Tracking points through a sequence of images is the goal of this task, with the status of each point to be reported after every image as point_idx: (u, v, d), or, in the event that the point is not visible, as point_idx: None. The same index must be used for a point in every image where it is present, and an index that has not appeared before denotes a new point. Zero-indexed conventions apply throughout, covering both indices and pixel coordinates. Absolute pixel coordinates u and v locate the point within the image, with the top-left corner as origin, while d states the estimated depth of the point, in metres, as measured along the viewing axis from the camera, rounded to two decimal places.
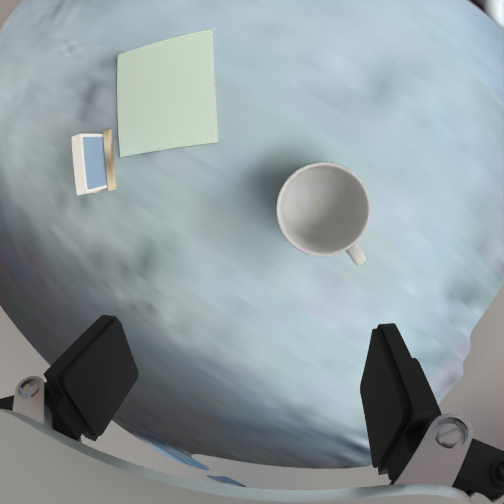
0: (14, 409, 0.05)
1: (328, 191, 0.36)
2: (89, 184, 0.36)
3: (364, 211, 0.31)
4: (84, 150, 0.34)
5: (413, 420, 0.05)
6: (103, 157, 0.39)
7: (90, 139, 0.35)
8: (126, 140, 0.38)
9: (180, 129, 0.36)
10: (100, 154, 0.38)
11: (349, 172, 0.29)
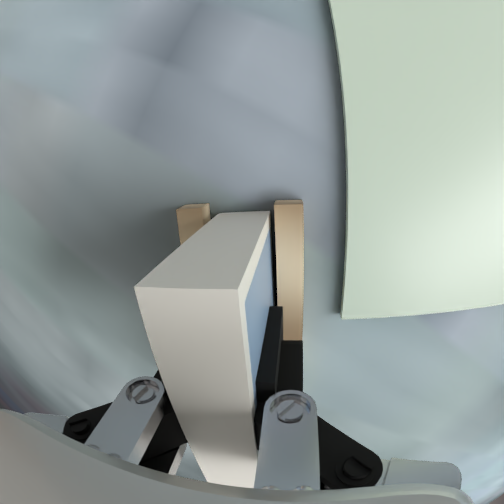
0: (110, 409, 0.06)
1: None
2: None
3: None
4: (253, 376, 0.06)
5: (258, 389, 0.06)
6: None
7: (257, 278, 0.07)
8: (381, 266, 0.10)
9: None
10: None
11: None
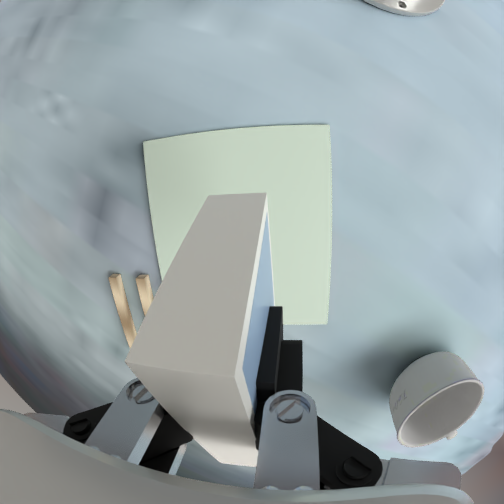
0: (111, 409, 0.06)
1: None
2: None
3: (472, 403, 0.21)
4: (254, 405, 0.06)
5: (258, 389, 0.06)
6: (272, 302, 0.11)
7: (255, 307, 0.06)
8: None
9: None
10: (269, 306, 0.10)
11: (478, 383, 0.19)
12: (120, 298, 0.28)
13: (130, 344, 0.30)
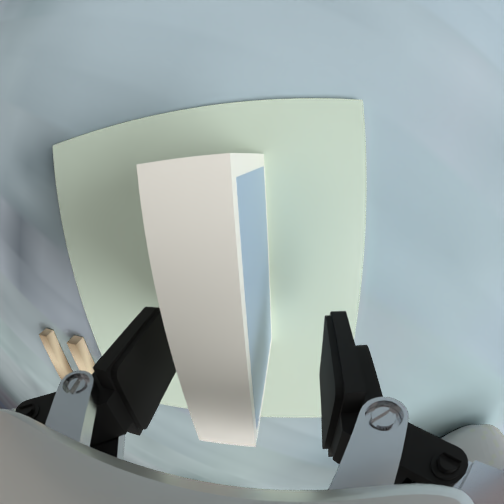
0: (54, 403, 0.05)
1: None
2: (257, 407, 0.09)
3: None
4: (244, 268, 0.06)
5: (346, 399, 0.06)
6: (266, 254, 0.11)
7: (250, 184, 0.07)
8: None
9: None
10: (263, 247, 0.10)
11: None
12: (57, 360, 0.17)
13: None
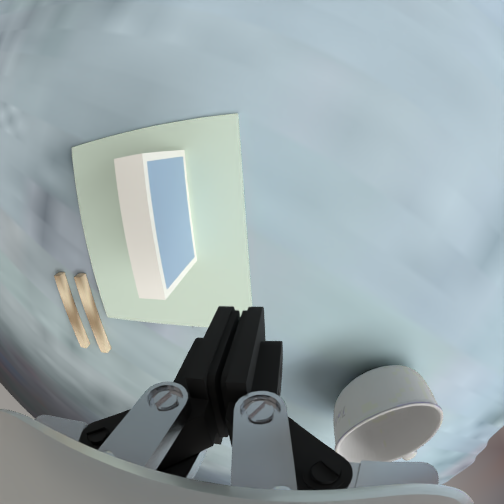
0: (130, 414, 0.05)
1: None
2: (168, 276, 0.18)
3: (431, 425, 0.20)
4: (151, 195, 0.15)
5: (230, 389, 0.06)
6: (184, 202, 0.20)
7: (161, 164, 0.16)
8: (111, 298, 0.26)
9: (192, 303, 0.25)
10: (179, 197, 0.19)
11: (432, 406, 0.18)
12: (65, 295, 0.27)
13: (79, 339, 0.29)
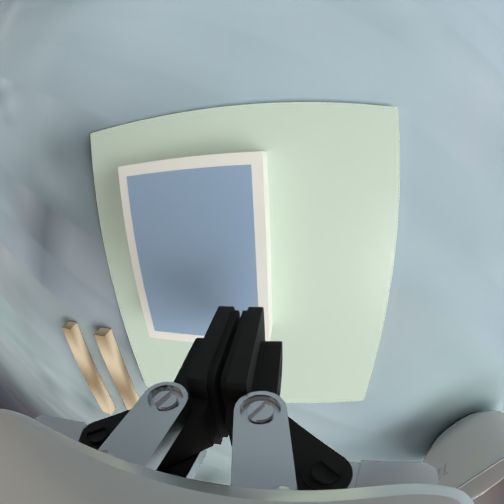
0: (129, 414, 0.05)
1: None
2: (161, 321, 0.14)
3: None
4: (133, 220, 0.12)
5: (231, 389, 0.06)
6: (239, 249, 0.12)
7: (162, 179, 0.11)
8: (155, 367, 0.18)
9: (288, 377, 0.16)
10: (221, 237, 0.12)
11: None
12: (80, 354, 0.18)
13: (101, 404, 0.20)
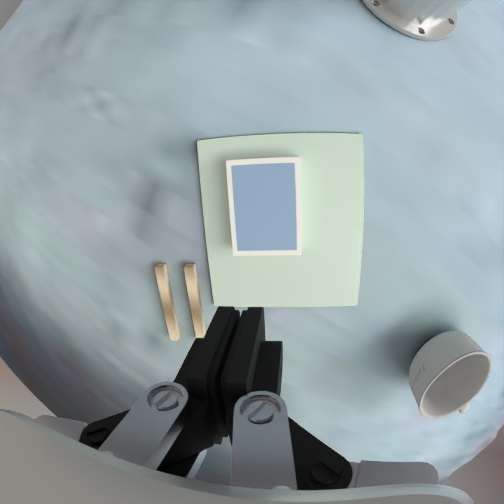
0: (129, 414, 0.05)
1: None
2: (242, 244, 0.27)
3: (481, 377, 0.24)
4: (233, 187, 0.25)
5: (230, 389, 0.06)
6: (288, 201, 0.25)
7: (251, 168, 0.24)
8: (224, 287, 0.31)
9: (310, 285, 0.29)
10: (279, 195, 0.25)
11: (486, 356, 0.22)
12: (165, 287, 0.31)
13: (170, 332, 0.33)
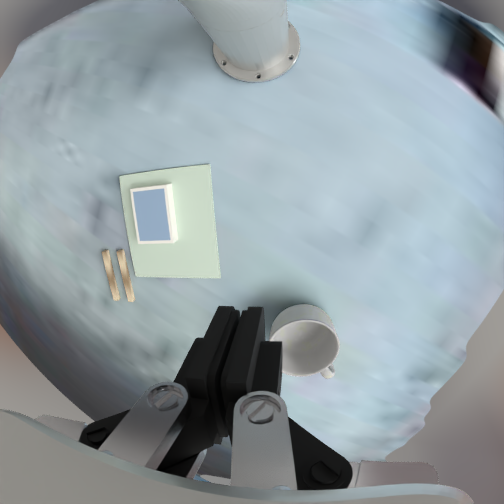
0: (130, 414, 0.05)
1: None
2: (142, 237, 0.43)
3: (335, 347, 0.40)
4: (135, 204, 0.41)
5: (231, 389, 0.06)
6: (162, 211, 0.41)
7: (142, 193, 0.40)
8: (140, 264, 0.47)
9: (187, 263, 0.46)
10: (158, 208, 0.41)
11: (325, 325, 0.38)
12: (108, 264, 0.47)
13: (113, 294, 0.50)
